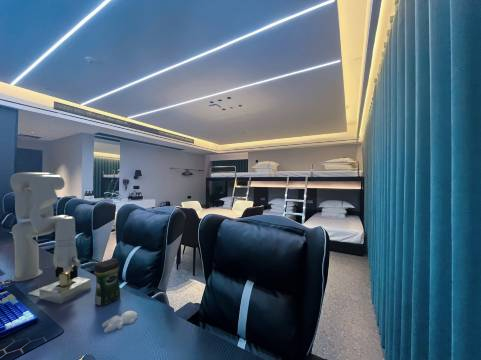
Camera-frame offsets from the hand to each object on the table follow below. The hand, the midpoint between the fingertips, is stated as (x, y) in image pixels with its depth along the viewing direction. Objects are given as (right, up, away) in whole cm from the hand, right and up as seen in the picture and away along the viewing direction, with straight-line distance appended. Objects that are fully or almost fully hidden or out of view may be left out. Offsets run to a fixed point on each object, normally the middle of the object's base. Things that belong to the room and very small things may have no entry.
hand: (66, 277), depth 103 cm
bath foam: (-14, -8, +18) cm, 24 cm away
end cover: (0, -8, 0) cm, 8 cm away
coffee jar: (+24, -8, -6) cm, 26 cm away
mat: (-13, -8, +2) cm, 16 cm away
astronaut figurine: (+38, -9, -20) cm, 44 cm away
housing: (0, -8, 0) cm, 8 cm away
